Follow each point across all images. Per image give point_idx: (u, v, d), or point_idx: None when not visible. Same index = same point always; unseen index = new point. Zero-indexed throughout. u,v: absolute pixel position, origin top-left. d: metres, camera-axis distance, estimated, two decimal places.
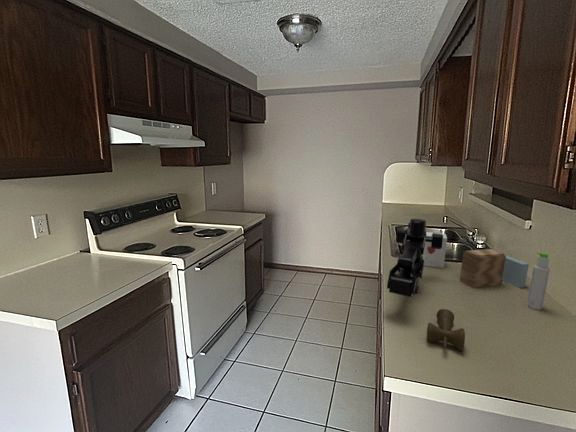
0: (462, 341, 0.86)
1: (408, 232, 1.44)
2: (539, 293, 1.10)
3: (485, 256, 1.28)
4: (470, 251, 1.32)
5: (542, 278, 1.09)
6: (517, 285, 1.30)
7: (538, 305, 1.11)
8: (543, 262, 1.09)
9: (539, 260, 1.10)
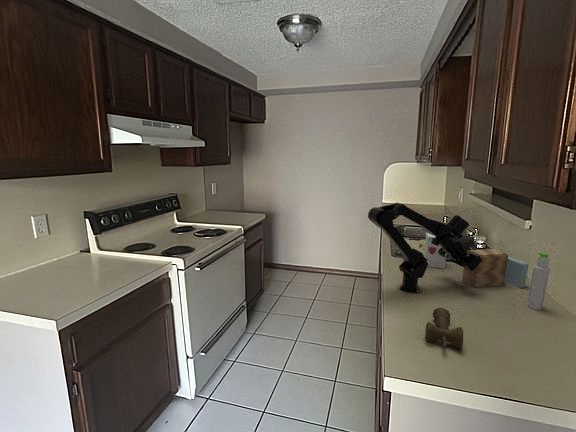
0: (461, 340, 0.87)
1: None
2: (539, 293, 1.10)
3: (487, 256, 1.28)
4: (472, 251, 1.32)
5: (542, 278, 1.09)
6: (517, 285, 1.30)
7: (538, 305, 1.11)
8: (543, 262, 1.09)
9: (539, 260, 1.10)
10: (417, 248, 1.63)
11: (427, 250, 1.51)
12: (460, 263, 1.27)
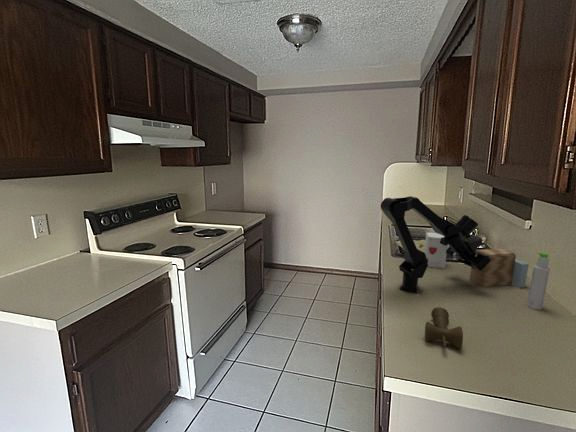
0: (460, 339, 0.87)
1: None
2: (539, 293, 1.10)
3: (495, 255, 1.29)
4: (480, 250, 1.33)
5: (542, 278, 1.09)
6: (517, 285, 1.30)
7: (538, 305, 1.11)
8: (543, 262, 1.09)
9: (539, 260, 1.10)
10: (417, 248, 1.63)
11: (427, 250, 1.50)
12: (468, 263, 1.28)
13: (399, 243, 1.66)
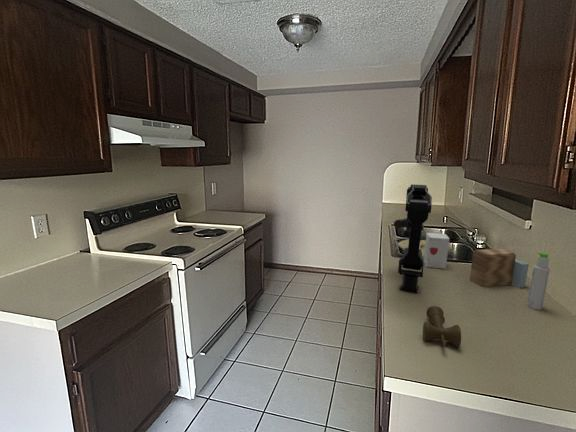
0: (459, 338, 0.87)
1: None
2: (539, 293, 1.10)
3: (495, 255, 1.29)
4: (480, 250, 1.33)
5: (542, 278, 1.09)
6: (517, 285, 1.30)
7: (538, 305, 1.11)
8: (543, 262, 1.09)
9: (539, 260, 1.10)
10: None
11: (428, 251, 1.50)
12: None
13: (400, 244, 1.64)
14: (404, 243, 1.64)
